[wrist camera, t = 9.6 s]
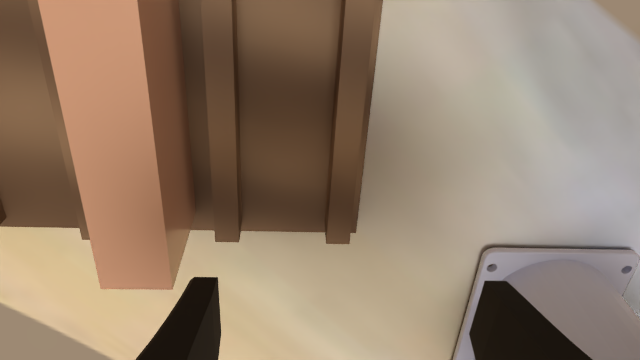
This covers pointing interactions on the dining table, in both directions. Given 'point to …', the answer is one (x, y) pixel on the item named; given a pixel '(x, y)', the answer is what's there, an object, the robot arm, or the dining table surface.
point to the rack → (217, 116)
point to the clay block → (126, 132)
